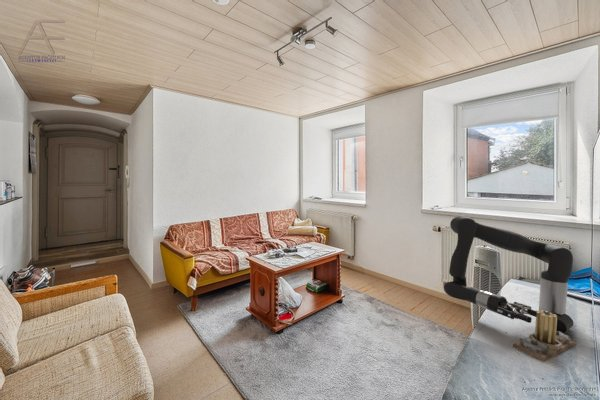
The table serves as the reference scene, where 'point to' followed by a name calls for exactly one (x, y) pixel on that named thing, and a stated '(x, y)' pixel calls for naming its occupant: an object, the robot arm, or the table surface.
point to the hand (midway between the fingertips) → (536, 318)
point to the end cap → (563, 322)
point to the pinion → (546, 327)
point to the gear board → (544, 356)
